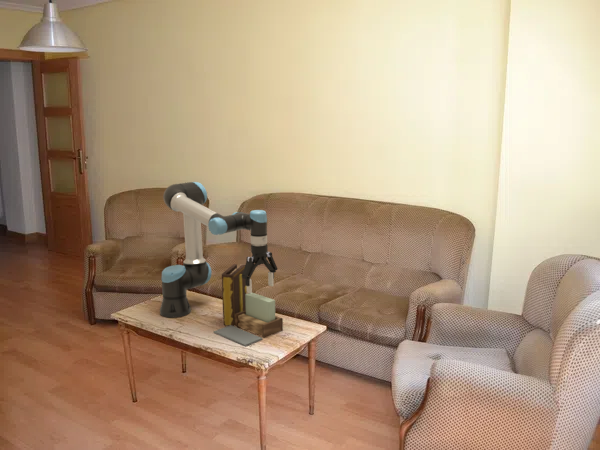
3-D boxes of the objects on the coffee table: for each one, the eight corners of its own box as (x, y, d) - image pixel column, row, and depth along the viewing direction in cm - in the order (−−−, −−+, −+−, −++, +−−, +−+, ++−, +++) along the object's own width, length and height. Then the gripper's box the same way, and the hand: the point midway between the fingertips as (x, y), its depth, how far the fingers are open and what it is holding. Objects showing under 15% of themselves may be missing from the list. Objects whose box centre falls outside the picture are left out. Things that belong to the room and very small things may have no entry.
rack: (234, 325, 252) (234, 313, 251) (253, 319, 260) (252, 307, 259) (264, 337, 238) (264, 325, 237) (282, 330, 247) (282, 318, 246)
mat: (213, 332, 244) (213, 331, 244) (230, 326, 251) (230, 325, 251) (245, 346, 229) (245, 344, 229) (262, 339, 237) (262, 338, 236)
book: (236, 326, 251) (235, 276, 246) (219, 325, 253) (218, 274, 248) (250, 310, 272) (249, 263, 267) (234, 309, 274) (233, 262, 269)
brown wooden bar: (238, 326, 251) (238, 315, 250) (243, 324, 254) (243, 313, 253) (262, 336, 240) (262, 325, 239) (268, 334, 243) (268, 322, 241)
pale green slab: (246, 324, 254) (245, 294, 251) (252, 322, 257) (251, 292, 254) (269, 333, 244) (268, 302, 241) (275, 330, 246) (275, 300, 243)
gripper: (243, 250, 231) (245, 297, 235) (284, 240, 249) (285, 284, 253) (232, 247, 236) (234, 293, 240) (273, 238, 254) (274, 281, 258)
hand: (260, 289), depth 246 cm, fingers open, 13 cm apart
